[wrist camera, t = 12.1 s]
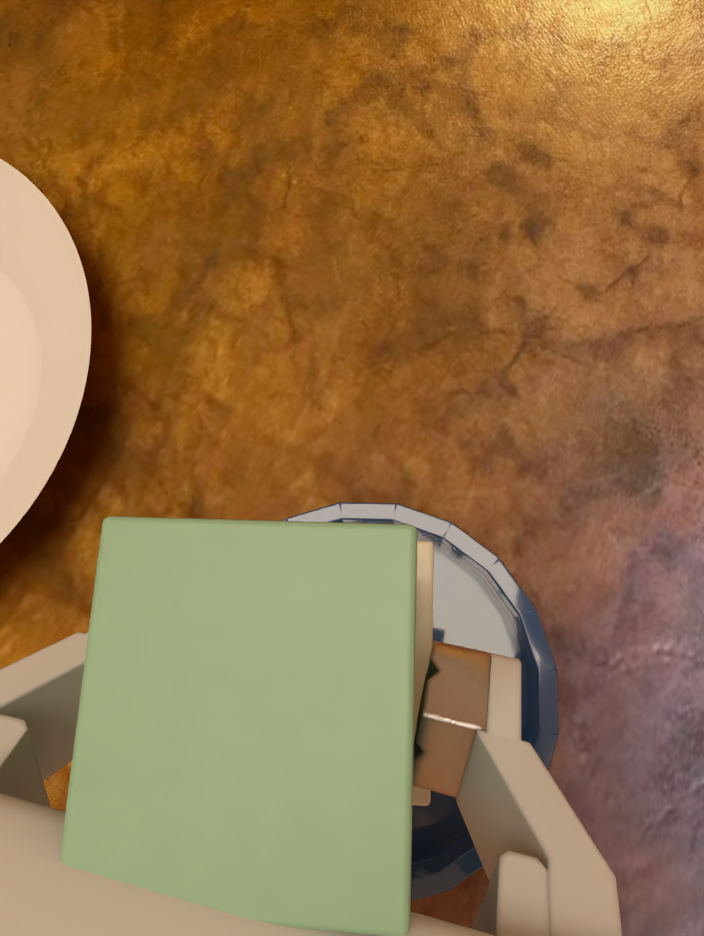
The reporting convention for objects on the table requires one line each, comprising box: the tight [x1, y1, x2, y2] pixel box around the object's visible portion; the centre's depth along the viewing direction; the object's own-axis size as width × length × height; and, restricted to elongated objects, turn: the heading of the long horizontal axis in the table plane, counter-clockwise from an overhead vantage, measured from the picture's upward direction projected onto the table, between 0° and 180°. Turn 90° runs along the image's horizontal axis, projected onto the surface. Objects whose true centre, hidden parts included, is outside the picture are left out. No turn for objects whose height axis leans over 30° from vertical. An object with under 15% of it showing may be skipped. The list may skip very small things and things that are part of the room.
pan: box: [283, 502, 559, 901], centre depth 26 cm, size 14×14×4 cm
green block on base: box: [60, 516, 434, 936], centre depth 12 cm, size 4×6×11 cm
